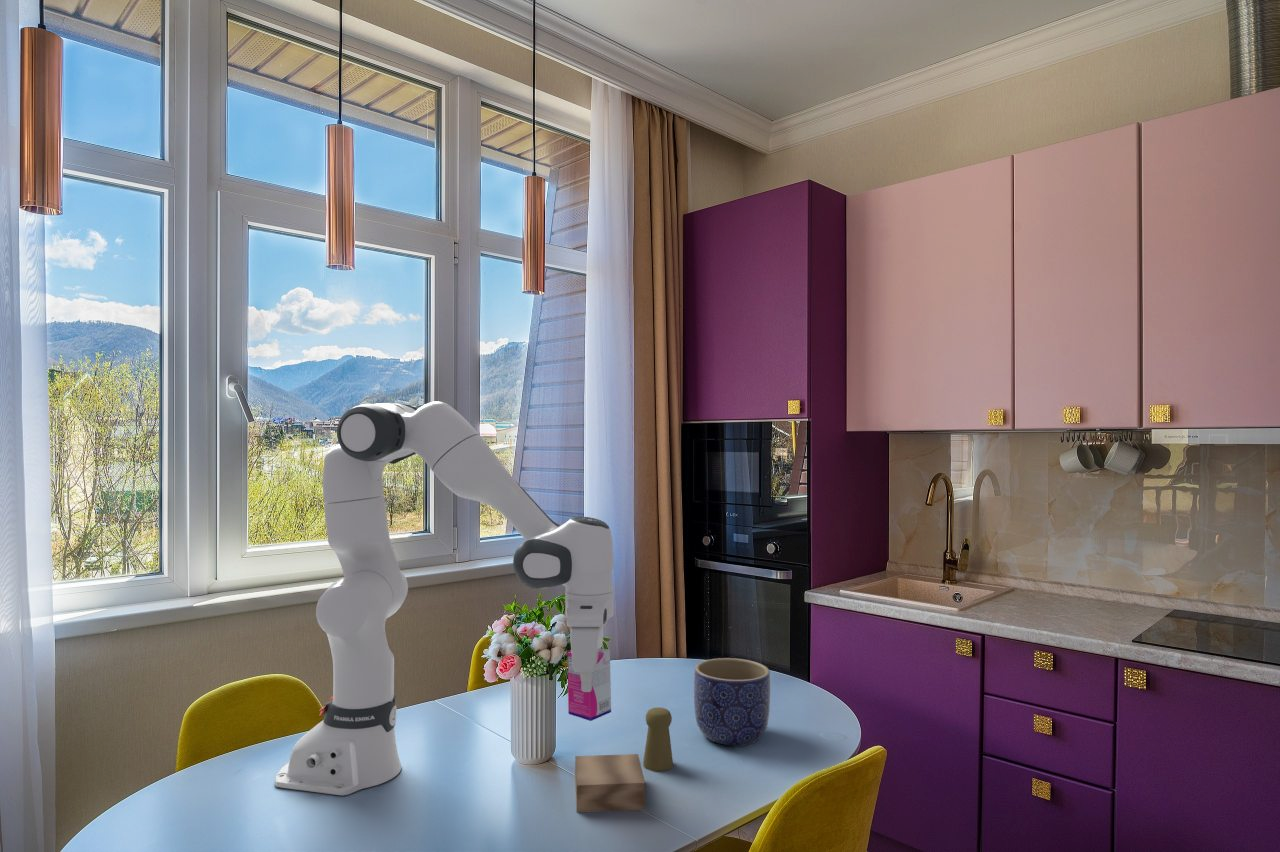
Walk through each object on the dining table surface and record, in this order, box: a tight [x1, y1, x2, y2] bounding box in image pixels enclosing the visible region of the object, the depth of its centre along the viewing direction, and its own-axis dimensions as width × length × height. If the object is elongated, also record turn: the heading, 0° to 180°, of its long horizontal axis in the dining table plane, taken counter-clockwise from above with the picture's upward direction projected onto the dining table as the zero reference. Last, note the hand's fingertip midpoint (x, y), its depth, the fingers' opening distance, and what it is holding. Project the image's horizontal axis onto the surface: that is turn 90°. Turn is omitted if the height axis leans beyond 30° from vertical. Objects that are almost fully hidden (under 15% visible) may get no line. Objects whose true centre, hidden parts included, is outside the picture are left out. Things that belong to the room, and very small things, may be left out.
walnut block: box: [574, 753, 646, 813], centre depth 139 cm, size 12×12×5 cm
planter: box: [693, 657, 771, 747], centre depth 166 cm, size 17×17×15 cm
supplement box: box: [566, 647, 612, 722], centre depth 139 cm, size 6×6×12 cm
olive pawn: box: [642, 707, 674, 772], centre depth 152 cm, size 6×6×11 cm
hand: (589, 682), depth 139 cm, fingers closed on supplement box, 8 cm apart
